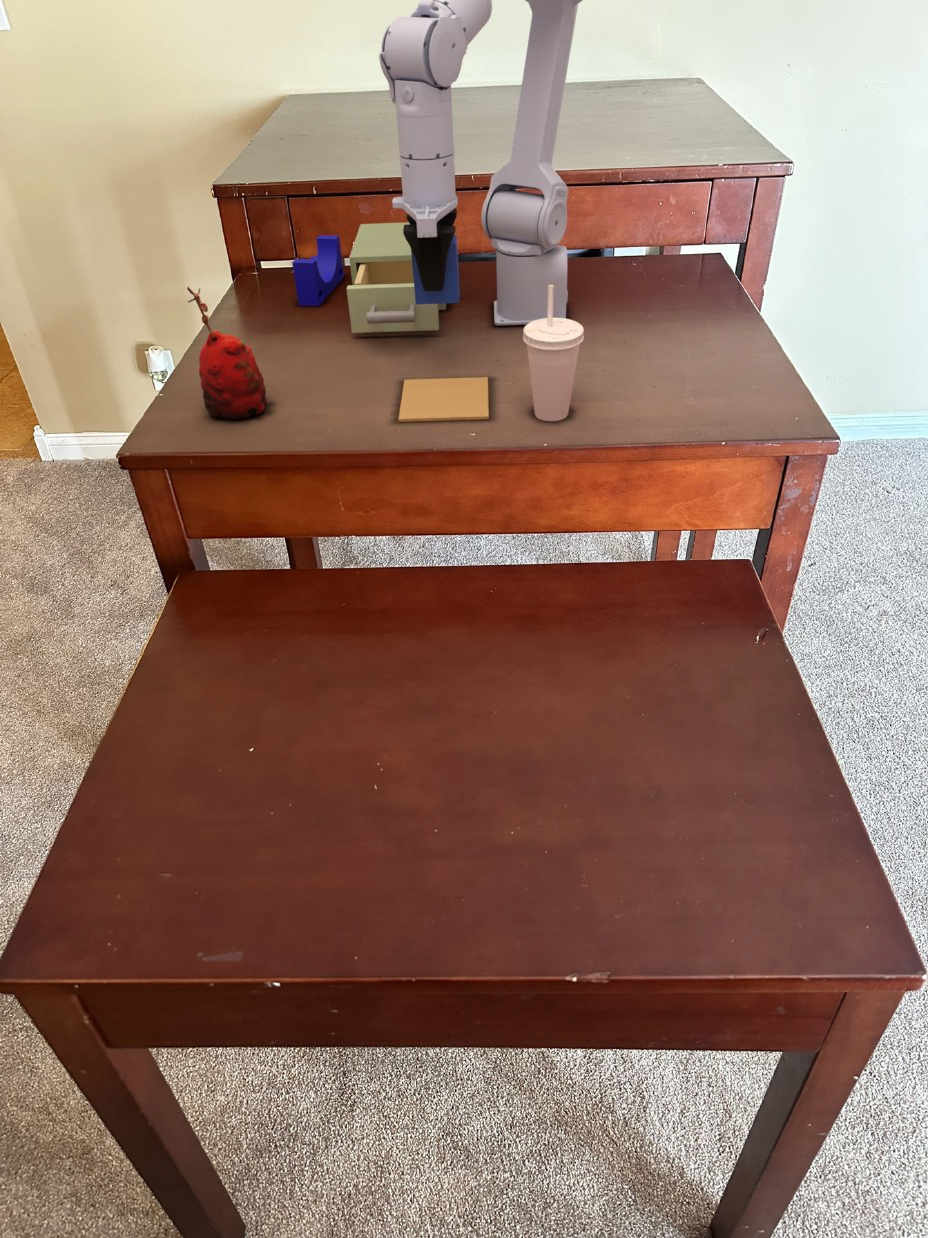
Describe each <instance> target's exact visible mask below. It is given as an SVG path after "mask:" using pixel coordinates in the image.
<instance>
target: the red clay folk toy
mask: <svg viewBox="0 0 928 1238" xmlns="http://www.w3.org/2000/svg"><path fill="white" fill-rule="evenodd" d="M186 290H187V291H188V292H189V293H190V294H191V295H192V296H193V298H191V299H189V300H188V301H187V303H188V304H189V303H192V302H193V301H195V302H196V304H197V307H198V309H199V311H200V313H201V315H202V316H201V322H202V324H204V325H205V326H206V328H207V330H208V335H207V339H206V341H205V342H204V345H203V346H202V348H201V350H200V351H199V356H198V362H199V368H198V375H199V377H200V386H201V387H200V388H201V390H202V398H203V403H204V407H205V409H206V410H207V412H208V413H209V414H210V415H211V416H213V417H217V418H223V419H227V420H232V419H233V420H241V419H248V418H250V417H251V416H252V415H254V416H257V415H260V414H262V413H264V411H265V409H266V407H265V405H266V404H267V397H266V393H267V390H266V386H265V381H264V379H265V378H263V374H262V373H261V371H260V367H259V366H258V364H257V362H256V358H255V356H254V355H255V354H254V353H253V350H252V347H250V346H248V345H246V344H245V342H244V341H242V340H240V339H239V338H238V337H237V336H236V335H232V334H229V333H227V334H224V333H221V332H220V331H218V330H212V328H211V326H210V324H209V318H210V316H209V315H208V314H205V313H208V311H209V309H208V308H209V307H208V305H207V304H206V303H205V302H203V301H202V300H201V297H200V294H201V293H200V292H201V288H198V289H197V291H198V292H197V293H196V292H194V291H193V289H191V288H190V286H187V288H186Z"/></svg>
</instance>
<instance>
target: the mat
mask: <svg viewBox="0 0 928 1238" xmlns="http://www.w3.org/2000/svg"><path fill="white" fill-rule="evenodd" d="M489 415H490V412H489V377H488V376H481V377H448V378H446V377H443V378H415V379H414V378H413V379H409V378H408V379H404V380H403V387H402V393H401V400H400V407H399V413H398V423H407V422H411V423H412V422H413V423H414V422H442V421H443V422H444V421H445V422H446V421H447V422H448V421H479V420H480V421H482V420H483V421H484V420H489V419H490V417H489Z"/></svg>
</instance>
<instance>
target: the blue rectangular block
mask: <svg viewBox="0 0 928 1238" xmlns="http://www.w3.org/2000/svg"><path fill="white" fill-rule="evenodd" d="M411 256H412V267H413V279H414V290H415V302H416V305H420V304H442V303H446V304H459V303H460V297H461V296H460V295H461V287H460V271H459V269H460V268H459V251H458V235H457V234H454V236H453V239H452V241H451V243H450V246H449V250H448V254H447V260H446V269H445V279H444V286H443V290H442V291H424V288H423V285H422V282H421V278H420V274H419V270H418V266H417V262H416V259H415V256H414V254H413V251H412V249H411Z"/></svg>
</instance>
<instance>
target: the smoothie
mask: <svg viewBox="0 0 928 1238" xmlns="http://www.w3.org/2000/svg"><path fill="white" fill-rule="evenodd" d="M553 289H554V286H553V285H548V316H547V318H543V319H538V320H535V321H532V322H530V323H529V324H527V325H524V327H523V330H522V331H523V332H522V333H523V335H522V340H523V342H524V343H525V344H526V352H527V360H528V361H527V362H528V369H529V377H530V385H531V393H532V402H533V410H534V411H533V412H534V416H535V417H536V418H537V419H539V420H541V421H545V422H559V421H561V420H564V419H566V418H567V417H568V415H569V411H570V404H571V399H572V393H573V387H574V381H575V375H576V369H577V364H578V358H579V353H580V345H581V343H582V342H584V339H585V335H584V332H585V328H584V326H583V325H582V324H581V323H580V322H577V321H576V320H574V319H570V318H566V319H565V318H553Z"/></svg>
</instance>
